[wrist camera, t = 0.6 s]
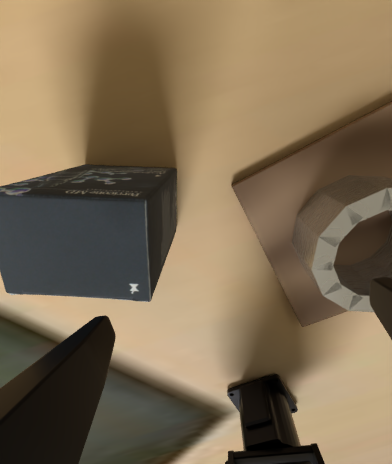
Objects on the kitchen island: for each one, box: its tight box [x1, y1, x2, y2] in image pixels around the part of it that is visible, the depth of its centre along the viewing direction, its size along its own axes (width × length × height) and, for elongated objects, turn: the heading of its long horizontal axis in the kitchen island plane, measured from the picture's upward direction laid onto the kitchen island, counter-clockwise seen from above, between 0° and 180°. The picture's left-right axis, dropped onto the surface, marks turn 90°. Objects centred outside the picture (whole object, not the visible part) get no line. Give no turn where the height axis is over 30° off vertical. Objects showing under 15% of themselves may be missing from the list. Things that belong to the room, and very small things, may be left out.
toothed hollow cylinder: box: [292, 175, 392, 312], centre depth 19 cm, size 9×9×4 cm
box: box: [0, 165, 177, 302], centre depth 17 cm, size 8×6×11 cm
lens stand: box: [232, 102, 392, 327], centre depth 21 cm, size 16×14×1 cm
